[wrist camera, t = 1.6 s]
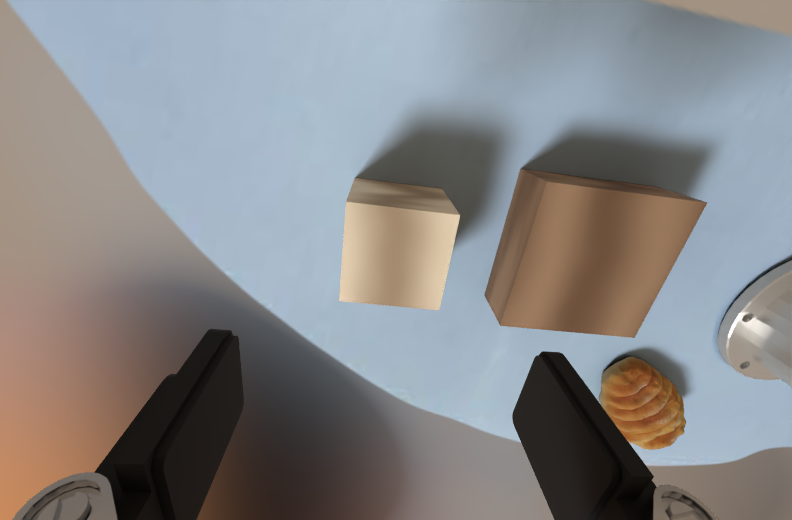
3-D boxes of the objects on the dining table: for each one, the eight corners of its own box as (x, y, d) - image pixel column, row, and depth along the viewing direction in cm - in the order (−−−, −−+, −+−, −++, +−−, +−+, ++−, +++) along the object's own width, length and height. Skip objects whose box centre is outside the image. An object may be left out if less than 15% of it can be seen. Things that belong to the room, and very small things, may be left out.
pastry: (576, 373, 31) (601, 407, 28) (647, 338, 30) (682, 369, 26) (610, 428, 35) (635, 464, 31) (675, 399, 33) (709, 434, 30)
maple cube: (441, 188, 23) (460, 215, 18) (427, 266, 26) (439, 310, 20) (354, 177, 23) (346, 201, 17) (348, 257, 25) (339, 300, 20)
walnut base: (657, 187, 23) (707, 202, 20) (601, 306, 28) (634, 337, 24) (520, 168, 23) (546, 181, 19) (484, 295, 27) (500, 325, 23)
